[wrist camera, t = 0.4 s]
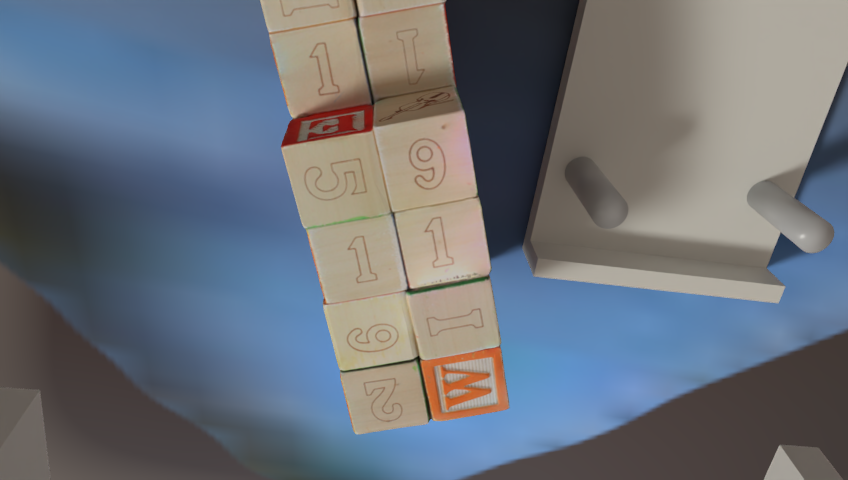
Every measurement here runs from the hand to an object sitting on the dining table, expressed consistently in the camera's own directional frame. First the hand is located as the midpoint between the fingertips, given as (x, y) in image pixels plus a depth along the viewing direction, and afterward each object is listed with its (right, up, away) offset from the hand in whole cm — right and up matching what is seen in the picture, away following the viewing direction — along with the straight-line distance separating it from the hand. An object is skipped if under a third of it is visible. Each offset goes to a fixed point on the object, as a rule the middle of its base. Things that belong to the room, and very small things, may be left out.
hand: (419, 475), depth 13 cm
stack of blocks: (-2, +12, +22) cm, 25 cm away
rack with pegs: (+14, +14, +21) cm, 29 cm away
